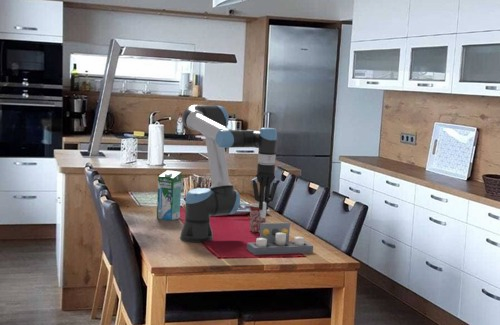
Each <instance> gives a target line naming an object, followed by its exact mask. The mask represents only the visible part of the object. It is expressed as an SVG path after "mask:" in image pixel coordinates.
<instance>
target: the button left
mask: <svg viewBox="0 0 500 325" xmlns="http://www.w3.org/2000/svg"><path fill="white" fill-rule="evenodd" d="M255 241H256V246H257V247H267V239H266V238H260V237H257V238H256V240H255Z"/></svg>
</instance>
